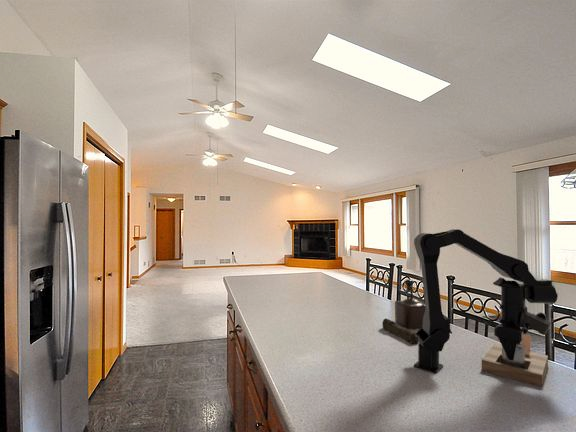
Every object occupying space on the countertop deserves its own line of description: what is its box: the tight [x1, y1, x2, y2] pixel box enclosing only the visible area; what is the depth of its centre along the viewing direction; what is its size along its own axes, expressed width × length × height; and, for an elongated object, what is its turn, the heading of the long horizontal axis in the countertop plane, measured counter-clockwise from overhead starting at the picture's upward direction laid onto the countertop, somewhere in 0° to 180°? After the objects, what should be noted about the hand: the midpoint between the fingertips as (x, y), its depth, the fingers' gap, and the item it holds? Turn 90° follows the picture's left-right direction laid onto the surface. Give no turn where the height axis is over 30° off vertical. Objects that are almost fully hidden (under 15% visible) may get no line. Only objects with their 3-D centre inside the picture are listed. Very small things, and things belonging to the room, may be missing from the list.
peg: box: [502, 343, 525, 369], centre depth 94 cm, size 6×6×8 cm
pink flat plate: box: [520, 333, 532, 357], centre depth 101 cm, size 7×6×1 cm
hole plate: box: [481, 343, 549, 387], centre depth 97 cm, size 18×14×3 cm
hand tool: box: [381, 318, 419, 345], centre depth 125 cm, size 19×4×5 cm, turn 18°
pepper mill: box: [394, 278, 426, 330], centre depth 141 cm, size 16×11×18 cm
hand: (513, 356), depth 94 cm, fingers open, 7 cm apart
